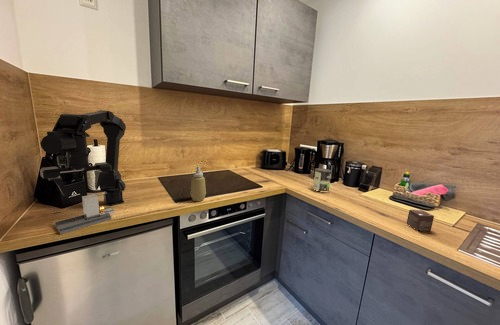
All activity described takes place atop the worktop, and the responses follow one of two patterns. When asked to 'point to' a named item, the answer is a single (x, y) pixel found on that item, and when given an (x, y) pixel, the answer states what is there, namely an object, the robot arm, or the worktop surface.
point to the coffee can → (322, 179)
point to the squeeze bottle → (198, 186)
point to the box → (420, 220)
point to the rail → (80, 222)
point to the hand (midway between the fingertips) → (81, 192)
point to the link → (93, 207)
